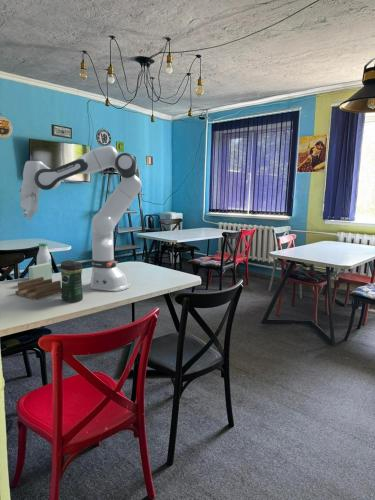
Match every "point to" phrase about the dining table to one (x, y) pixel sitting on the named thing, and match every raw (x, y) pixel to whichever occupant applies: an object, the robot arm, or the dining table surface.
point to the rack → (38, 288)
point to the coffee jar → (71, 281)
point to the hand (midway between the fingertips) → (27, 218)
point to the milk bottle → (43, 254)
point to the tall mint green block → (40, 271)
